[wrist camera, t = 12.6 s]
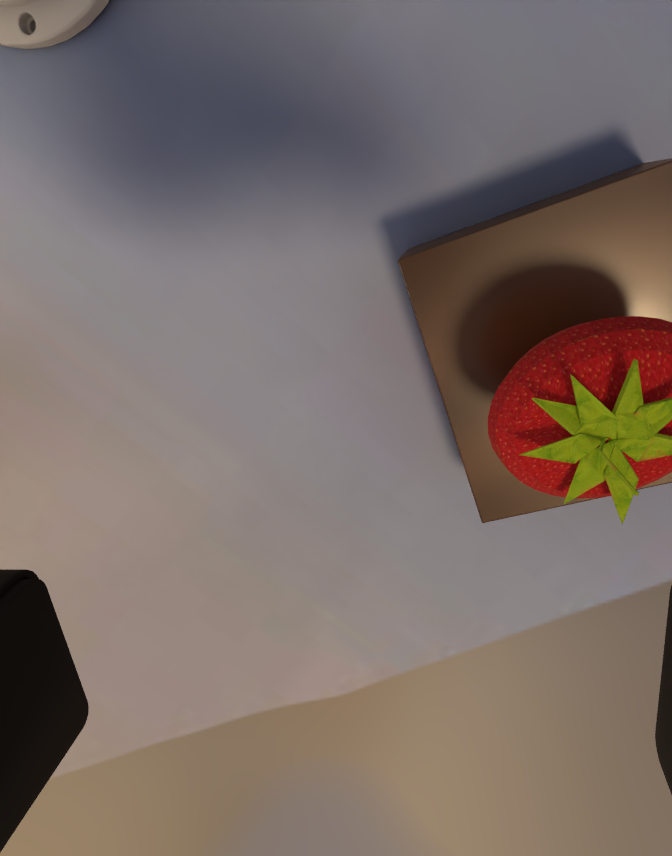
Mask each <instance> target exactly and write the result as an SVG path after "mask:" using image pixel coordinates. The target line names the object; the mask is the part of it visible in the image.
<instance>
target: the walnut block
mask: <svg viewBox="0 0 672 856" xmlns="http://www.w3.org/2000/svg"><path fill="white" fill-rule="evenodd" d="M398 263H399V266H400V269H401V272H402V275H403V278H404V282H405V285H406V288H407V291H408V294H409V297H410V300H411V303H412V306H413V310H414V313H415V316H416V319H417V322H418V325H419V328H420V331H421V334H422V337H423V341H424V344H425V347H426V350H427V353H428V356H429V359H430V362H431V365H432V369H433V372H434V375H435V378H436V381H437V384H438V387H439V390H440V393H441V397H442V400H443V403H444V406H445V409H446V412H447V415H448V418H449V421H450V425H451V428H452V431H453V434H454V437H455V440H456V443H457V446H458V449H459V453H460V456H461V459H462V462H463V465H464V468H465V471H466V474H467V477H468V480H469V484H470V487H471V490H472V493H473V496H474V499H475V502H476V505H477V508H478V512H479V515H480V518H481V521H482V523H485V522H490V521H494V520H499V519H504V518H508V517H513V516H518V515H522V514H527V513H531V512H536V511H541V510H545V509H550V508H555V507H559V506H564V505H569V504H573V503H578V502H583V501H587V500H592V499H597V498H574V499H572V500H571V501H569V502H567V503H566V504H564V501H565V499H566V497H559V496H552V495H549V494H546V493H543V492H540V491H537V490H534V489H533V488H531V487H529V486H527V485H525V484H524V483H522V482H520V481H519V480H518V479H517V478H516V477H515V476H514V475H513V474H511V473H510V472H509V471H508V469H507V468H506V467H505V466H504V465H503V463H502V462H501V461H500V459H499V458H498V456H497V455H496V453H495V452H494V450H493V448H492V445H491V442H490V439H489V436H488V415H489V410H490V405H491V402H492V400H493V398H494V395H495V393H496V391H497V389H498V387H499V385H500V384H501V382H502V381H503V380H504V378H505V377H506V375H507V374H508V373H509V371H510V370H511V369H512V368H513V366H514V365H515V364H516V363H517V362H518V361H519V360H520V359H521V358H522V357H523V356H524V355H525V354H526V353H527V352H528V351H529V350H530V349H532V348H533V347H534V346H536V345H537V344H539V343H540V342H541V341H543V340H544V339H546V338H548V337H550V336H552V335H554V334H555V333H557V332H559V331H561V330H564V329H567V328H569V327H572V326H575V325H578V324H581V323H586V322H591V321H595V320H600V319H606V318H611V317H627V316H641V317H651V318H659V319H663V320H666V321H669V322H672V159H666V160H660V161H654V162H648V163H643V164H640V165H637V166H634V167H632V168H629V169H626V170H624V171H621V172H618V173H615V174H613V175H610V176H607V177H604V178H602V179H599V180H596V181H593V182H591V183H588V184H585V185H582V186H580V187H577V188H574V189H571V190H569V191H566V192H563V193H561V194H558V195H555V196H552V197H550V198H547V199H544V200H541V201H539V202H536V203H533V204H530V205H528V206H525V207H522V208H519V209H517V210H514V211H511V212H508V213H506V214H503V215H500V216H498V217H495V218H492V219H489V220H487V221H484V222H481V223H478V224H476V225H473V226H470V227H467V228H465V229H462V230H459V231H456V232H454V233H451V234H448V235H445V236H443V237H440V238H437V239H435V240H432V241H429V242H426V243H424V244H421V245H418V246H415V247H413V248H410V249H407V251H406V252H405V253H404V254H403V255H402V256H401V257H400V258H399V259H398ZM671 482H672V472H671V473H669V474H667V475H665V476H664V477H662V478H660V479H658V480H657V481H655V482H652V483H650V484H647V485H645V486H642V487H640V488H638V489H643V488H648V487H652V486H657V485H662V484H666V483H671ZM638 489H636V490H638ZM605 497H606V496H605ZM598 498H601V497H598Z"/></svg>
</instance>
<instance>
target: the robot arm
mask: <svg viewBox="0 0 672 856" xmlns="http://www.w3.org/2000/svg"><path fill="white" fill-rule="evenodd" d="M108 2H109V0H0V45H3V46H7V47H15V48H22V49H34V48H43V47H50V46H53V45H55V44H58V43H61V42H63V41H66V40H68V39H71V38H72V37H73V36H75V35H76V34H78V33H79V32H80V31H82V30H83V29H85V28H86V27H88V26H89V25H90V24H91V23H92V22H93V20H94V19H95V18H96V17H97V16H98V15H99V14H100V13H101V12H102V10H103V9H104V8H105V7H106V5H107V4H108ZM669 598H670V599H669V608H668V617H667V627H666V636H665V646H664V655H663V665H662V674H661V684H660V693H659V703H658V713H657V722H656V734H655V738H656V747H657V753H658V757H659V761H660V764H661V767H662V770H663V772H664V775H665V778H666V781H667V783H668V786H669V789H670V791H671V794H672V586H671V590H670V597H669ZM87 716H88V702H87V699H86V696H85V693H84V690H83V688H82V685H81V682H80V679H79V676H78V674H77V671H76V668H75V665H74V662H73V660H72V657H71V654H70V651H69V648H68V646H67V643H66V640H65V637H64V635H63V632H62V629H61V626H60V623H59V621H58V618H57V615H56V612H55V609H54V607H53V604H52V601H51V598H50V595H49V593H48V590H47V587H46V585H45V583H44V582H43V581H42V580H39V578H38V577H37V575H36V574H35V573H34V572H33V571H30V570H0V852H1V851H2V849H3V848H4V846H5V845H6V843H7V841H8V840H9V838H10V837H11V835H12V834H13V832H14V831H15V829H16V828H17V826H18V825H19V823H20V822H21V820H22V819H23V817H24V816H25V814H26V813H27V811H28V810H29V808H30V807H31V805H32V804H33V802H34V801H35V799H36V798H37V796H38V795H39V793H40V792H41V790H42V789H43V787H44V786H45V784H46V783H47V781H48V780H49V778H50V777H51V775H52V774H53V772H54V771H55V769H56V768H57V766H58V765H59V763H60V762H61V760H62V759H63V757H64V756H65V754H66V753H67V751H68V750H69V748H70V747H71V745H72V744H73V742H74V741H75V739H76V738H77V736H78V735H79V733H80V732H81V730H82V729H83V727H84V725H85V723H86V720H87Z"/></svg>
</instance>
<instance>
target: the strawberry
mask: <svg viewBox="0 0 672 856" xmlns="http://www.w3.org/2000/svg"><path fill="white" fill-rule="evenodd" d="M488 436H489V439H490V442H491V445H492V448H493V450H494V452H495V453H496V455H497V456H498V458H499V459H500V461H501V462H502V463H503V465H504V466H505V467H506V468H507V469H508V471H509V472H510V473H511V474H513V475H514V476H515V477H516V478H517V479H518V480H519V481H520V482H522V483H524V484H525V485H527V486H529V487H531V488H533V489H534V490H537V491H540V492H543V493H546V494H549V495H552V496H559V497H566V499H565V501H564V504H566V503H567V502H569V501H571V500H572V499H574V498H598V497H605V496H612V498H613V501H614V503H615V506H616V509H617V511H618V514H619V517H620V519H621V522H622V524H623V522H624V519H625V516H626V513H627V511H628V508H629V505H630V502H631V500H632V497H633V494H634V495H635V496H636V495H638V494H639V492H638V491H637V490H636V489H638V488H640V487H642V486H645V485H647V484H650V483H652V482H655V481H657V480H658V479H660V478H662V477H664V476H665V475H667V474H669V473H671V472H672V322H669V321H666V320H663V319H659V318H651V317H641V316H627V317H611V318H606V319H600V320H595V321H591V322H586V323H581V324H578V325H575V326H572V327H569V328H567V329H564V330H561V331H559V332H557V333H555V334H554V335H552V336H550V337H548V338H546V339H544V340H543V341H541V342H540V343H539V344H537V345H536V346H534V347H533V348H532V349H530V350H529V351H528V352H527V353H526V354H525V355H524V356H523V357H522V358H521V359H520V360H519V361H518V362H517V363H516V364H515V365H514V366H513V368H512V369H511V370H510V371H509V373H508V374H507V375H506V377H505V378H504V380H503V381H502V382H501V384H500V385H499V387H498V389H497V391H496V393H495V395H494V398H493V400H492V402H491V405H490V410H489V415H488Z"/></svg>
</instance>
